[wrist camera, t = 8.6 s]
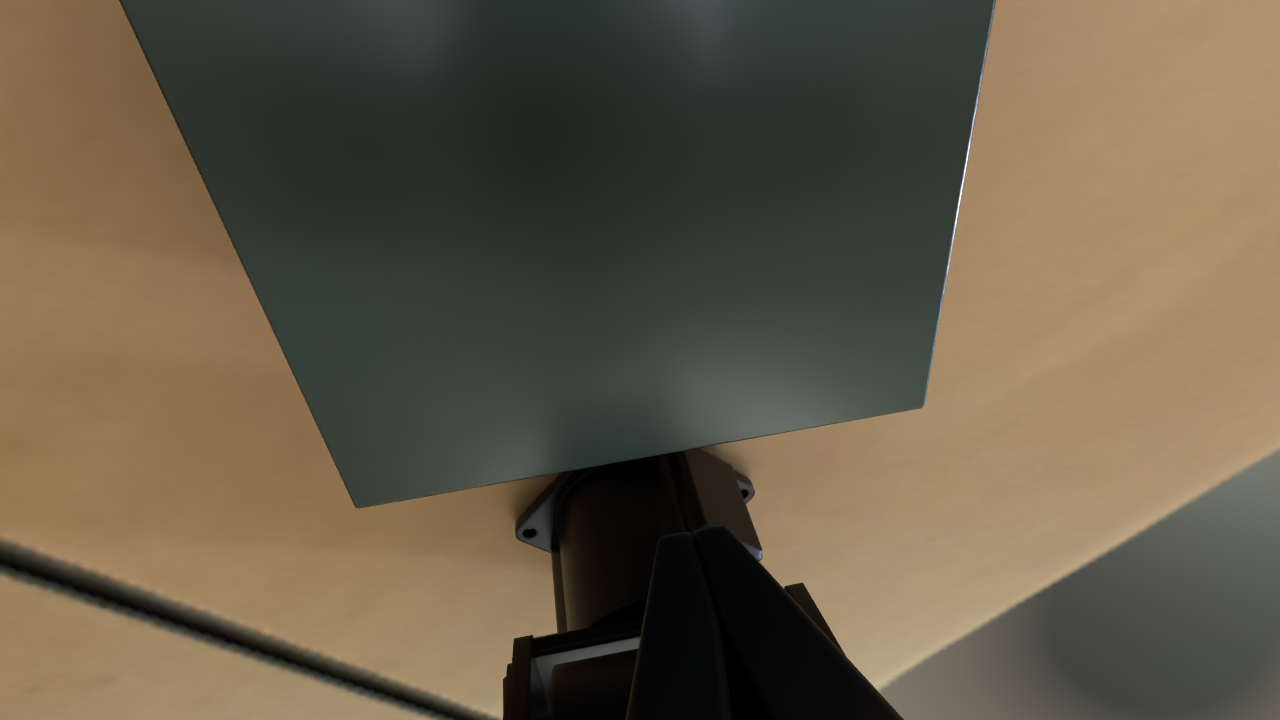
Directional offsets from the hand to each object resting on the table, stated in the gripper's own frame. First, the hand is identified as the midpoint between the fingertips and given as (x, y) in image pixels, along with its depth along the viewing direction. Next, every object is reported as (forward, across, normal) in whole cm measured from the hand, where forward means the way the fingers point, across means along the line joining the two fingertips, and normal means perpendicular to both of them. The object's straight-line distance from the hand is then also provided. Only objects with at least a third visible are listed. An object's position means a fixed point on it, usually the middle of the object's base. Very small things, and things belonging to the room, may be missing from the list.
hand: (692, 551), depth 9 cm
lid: (+6, 0, -4) cm, 7 cm away
